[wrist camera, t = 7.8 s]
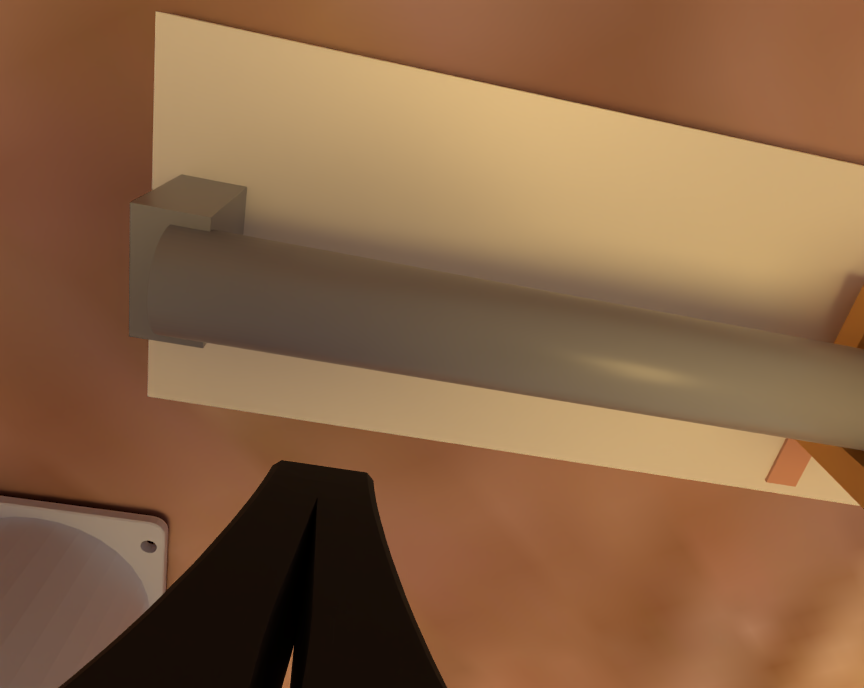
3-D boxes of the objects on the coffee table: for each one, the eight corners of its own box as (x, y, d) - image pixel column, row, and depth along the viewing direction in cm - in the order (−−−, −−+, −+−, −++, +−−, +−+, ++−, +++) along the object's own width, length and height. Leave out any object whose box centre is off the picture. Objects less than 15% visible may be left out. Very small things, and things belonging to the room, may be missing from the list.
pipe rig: (1144, 226, 18) (1422, 294, 13) (957, 505, 22) (1116, 636, 17) (170, 13, 15) (54, -5, 10) (159, 379, 19) (72, 495, 14)
